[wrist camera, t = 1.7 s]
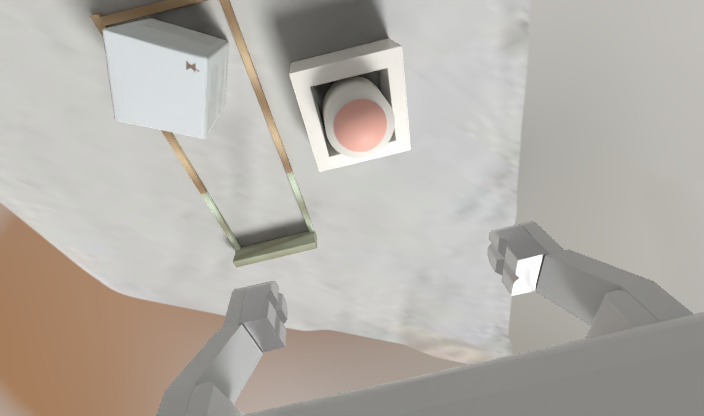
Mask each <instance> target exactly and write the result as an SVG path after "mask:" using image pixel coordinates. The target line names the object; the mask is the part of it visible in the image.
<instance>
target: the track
mask: <svg viewBox="0 0 704 416" xmlns="http://www.w3.org/2000/svg"><path fill="white" fill-rule="evenodd" d="M202 1H206V0H165V1H161V2H157V3H153V4H149V5H145V6H141V7H137V8H133V9H129V10H125V11H121V12H117V13H113V14H109V15H105V16H102V15H101V14H96V15H92V16H91V18H92V20H93V21H94V23H95V25H96V26H97V28H98V29H99V31H100V33H101V34H102V36H103V32H102V30H103V29H104V28H109V27H108V25H111V24H115V23H119V22H123V21H127V20H131V19H135V18H139V17H143V16H147V15H151V14H155V13H159V12H163V11H167V10H171V9H174V8H178V7H182V6H186V5H190V4H194V3H198V2H202ZM220 2H221V4H222V7H223V9H224V12H225V15H226V17H227V20H228V22H229V25H230V27H231V30H232V33H233V35H234V38H235V40H236V43H237V46H238V48H239V51H240V53H241V56H242V59H243V61H244V64H245V66H246V69H247V71H248V74H249V77H250V79H251V82H252V84H253V87H254V90H255V92H256V95H257V97H258V100H259V103H260V105H261V108H262V110H263V113H264V115H265V118H266V121H267V123H268V126H269V128H270V131H271V134H272V136H273V139H274V141H275V144H276V147H277V149H278V152H279V154H280V157H281V159H282V162H283V165H284V167H285V170H286V172H287V175H288V178H289V180H290V183H291V185H292V188H293V191H294V193H295V196H296V198H297V201H298V203H299V206H300V209H301V211H302V214H303V216H304V219H305V222H306V224H307V227H308V229H309V231H308V232H303V233H299V234H295V235H291V236H287V237H282V238H278V239H274V240H270V241H266V242H261V243H257V244H253V245H249V246H245V247H240V245H239V243H238V242H237V240H236V238H235V237H234V235H233V233H232V232H231V230H230V228H229V227H228V225H227V223H226V222H225V220H224V218H223V217H222V215H221V213H220V212H219V210H218V208H217V207H216V205H215V203H214V202H213V200H212V198H211V197H210V195H209V193H208V192H207V190H206V188H205V187H204V185H203V183H202V182H201V180H200V178H199V177H198V175H197V173H196V172H195V170H194V168H193V167H192V165H191V163H190V162H189V160H188V158H187V157H186V155H185V153H184V152H183V150H182V148H181V147H180V145H179V143H178V142H177V140H176V138H175V137H174V135H173V133H172V132H168V131H163V130H161V131H162V132H163V134H164V136H165V137H166V139H167V140H168V142H169V144H170V145H171V147H172V148H173V150H174V152H175V153H176V155H177V157H178V158H179V160H180V161H181V163H182V165H183V166H184V168H185V169H186V171H187V173H188V174H189V176H190V177H191V179H192V181H193V182H194V184H195V185H196V187H197V189H198V190H199V192H200V194H201V195H202V197H203V198H204V200H205V202H206V203H207V205H208V206H209V208H210V210H211V211H212V213H213V214H214V216H215V218H216V219H217V221H218V223H219V224H220V226H221V227H222V229H223V231H224V232H225V234H226V235H227V237H228V239H229V240H230V242H231V243H232V245H233V247H234V248H235V250H236V252H235V256H234V260H233V263H234V264H235V266H236V267H240V266H244V265H248V264H252V263H257V262H261V261H265V260H269V259H274V258H278V257H282V256H286V255H290V254H295V253H299V252H303V251H307V250H311V249H316V248H317V237H316V233H315V230H314V228H313V225H312V222H311V219H310V217H309V214H308V211H307V209H306V206H305V203H304V201H303V198H302V195H301V193H300V190H299V187H298V184H297V182H296V179H295V176H294V174H293V171H292V168H291V166H290V163H289V160H288V157H287V155H286V152H285V149H284V147H283V144H282V141H281V139H280V136H279V133H278V130H277V128H276V125H275V122H274V120H273V117H272V114H271V112H270V109H269V106H268V104H267V101H266V98H265V95H264V93H263V90H262V87H261V85H260V82H259V79H258V77H257V74H256V71H255V68H254V66H253V63H252V60H251V58H250V55H249V52H248V50H247V47H246V44H245V42H244V39H243V36H242V33H241V31H240V28H239V25H238V23H237V20H236V17H235V15H234V12H233V9H232V6H231V4H230V1H229V0H220Z"/></svg>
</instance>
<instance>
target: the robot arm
mask: <svg viewBox="0 0 704 416" xmlns="http://www.w3.org/2000/svg"><path fill="white" fill-rule="evenodd" d="M489 240H490V241H491V245H490V246H489V247H488V258H489V262H490V264H491V266H492V268H493V269H494V271H495V272H497V273H499V274H501V275H502V282H503V284H504V285H505V287H506V288H507V290H508V291H509V292H510V294H511V295H517V294H522V293H527V292H532V291H536V292H537V293H538V294H540V295H541V296H543V297H544V298H546V299H548V300H550V301H551V302H553V303H554V304H556V305H557V306H559V307H561V308H562V309H564V310H566V311H567V312H569V313H571V314H572V315H574V316H575V317H577V318H579V319H580V320H582V321H584V322H585V323H587V324H589V325H590V328H589V330H588V332H587V334H586V337H585V339H581V340H577V341H572V342H568V343H563V344H559V345H554V346H550V347H545V348H541V349H536V350H532V351H528V352H523V353H518V354H514V355H509V356H505V357H500V358H496V359H491V360H487V361H482V362H478V363H473V364H469V365H464V366H460V367H455V368H451V369H447V370H442V371H438V372H433V373H429V374H424V375H420V376H415V377H411V378H407V379H402V380H397V381H393V382H388V383H384V384H380V385H375V386H371V387H367V388H362V389H357V390H353V391H348V392H344V393H339V394H335V395H331V396H326V397H321V398H317V399H312V400H308V401H304V402H299V403H294V404H290V405H285V406H281V407H277V408H272V409H268V410H263V411H259V412H254V413H250V414H245V415H244V414H243V413H242V412H241V411H240V410H239V409H238V408H237V407H236V406H235V405H234V403H235V401H236V399H237V398H238V396H239V394H240V393H241V391H242V389H243V387H244V386H245V384H246V382H247V380H248V379H249V377H250V375H251V373H252V372H253V370H254V368H255V366H256V365H257V363H258V361H259V360H260V358H261V356H262V354H263V352H267V351H270V350H274V349H278V348H282V347H285V343H286V328H285V326H284V325H283V324H284V323H285V322H286V320H287V313H288V312H287V304H286V301H285V298H284V296H283V294H281V293H278V290H279V286H278V285H277V283H276V281H271V282H266V283H261V284H256V285H251V286H248V287H243V288H238V289H235V290H234V291H233V292H232V295H231V298H230V302H229V306H228V310H227V313H226V317H225V321H224V325H223V328H222V329H218V331H217V332H216V333H215V334H214V335H213V336H212V337H211V339H210V340H209V341H208V342H207V344H206V345H205V346H204V347H203V348H202V349H201V350H200V352H199V353H198V354H197V355H196V356H195V357H194V359H192V361H191V362H190V363H189V364H188V365H187V366H186V368H185V369H184V370H183V371H182V372H181V373H180V375H179V376H178V377H177V378H176V379H175V380H174V381H173V383H172V384H171V385H170V386H169V387H168V388H167V389H166V391H165V393H164V396H163V399H162V401H161V404H160V407H159V409H158V413H157V415H156V416H704V312H702V313H698V314H693V313H692V312H690V311H689V310H688V309H687V308H685V307H684V306H683V305H682V304H681V303H679V302H678V301H677V300H676V299H675V298H673V297H672V296H671V295H669V294H668V293H667V292H666V291H665V290H663V289H662V288H661V287H660V286H659V285H657V284H656V283H655V282H654V281H651V280H649V279H646V278H643V277H641V276H638V275H635V274H633V273H630V272H627V271H625V270H622V269H619V268H616V267H614V266H611V265H609V264H606V263H603V262H601V261H598V260H595V259H593V258H590V257H587V256H585V255H582V254H579V253H576V252H574V251H571V250H563V248H562V247H561V246H560V245H559V244H557V243H556V242H555V241H554V240H553V239H552V238H551V237H550V236H549V235H548V234H547V233H546V232H545V231H544V230H543V229H542V228H541V227H540V226H539V225H538V224H537V223H535V222H533V221H530V222H526V223H522V224H518V225H513V226H509V227H505V228H501V229H496V230H492V231H491V232H490V234H489Z"/></svg>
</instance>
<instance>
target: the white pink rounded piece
mask: <svg viewBox="0 0 704 416" xmlns="http://www.w3.org/2000/svg"><path fill="white" fill-rule="evenodd" d="M323 116H324V123H325V130H326V135H327V138H328V140H329V142H330V144H331V145H332V147H333V148H334V149H335V150H336V151H338V152H339V153H341V154H342V155H345V156H347V157H351V158H365V157H369V156H372V155H374V154H376V153H377V152H379V151H380V150H382V149H383V148H384V147H385V146H386V145H387V143H388V142H389V140H390V139H391V137H392V134H393V131H394V127H395V117H394V113H393V110H392V108H391V106H390V104H389V103H388V101H387V100H386V99H385V97H384V96H383V95H382V93H381V92H380V90H379V89H378V88H377V86H376V85H375V84H374V83H373V82H371V81H370V80H368V79H366V78H364V77H360V76H352V77H348V78H344V79H340V80H338V81H336V82H335V83H334V84H333V85H332V86H331V87H330V88H329V89H328V91H327V93H326V95H325V97H324V100H323Z"/></svg>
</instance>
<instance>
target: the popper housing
mask: <svg viewBox="0 0 704 416" xmlns="http://www.w3.org/2000/svg"><path fill="white" fill-rule="evenodd" d="M377 70H379V78H380V85H381V93H382V95H383V96H384V97H385V99H386V100H387V101H388V103H389V104H390V106H391V108H392V110H393V113H394V117H395V127H394V131H393V134H392V137H391V139H390V140H389V142H388V143H387V145H386V146H385V147H384V148H383V149H382V150H380V151H379V152H377V153H376V154H374V155H372V156H369V157H365V158H351V157H347V156H345V155H342V154H341V153H339V152H338V151H336V150H335V149H334V148H333V147H332V145H331V144H330V142H329V140H328V138H326V134H325V131H324V127H323V123H322V120H321V116H320V112H319V109H318V105H317V101H316V97H315V94H314V90H313V86H316V85H320V84H324V83H328V82H332V81H336V80H340V79H344V78H348V77H352V76H357V75H361V74H365V73H369V72H373V71H377ZM289 75H290V79H291V82H292V85H293V88H294V92H295V95H296V98H297V101H298V105H299V108H300V111H301V114H302V118H303V121H304V124H305V127H306V131H307V134H308V137H309V140H310V144H311V147H312V150H313V153H314V157H315V160H316V163H317V166H318V170H319V172H322V171H326V170H330V169H334V168H338V167H342V166H346V165H351V164H355V163H359V162H363V161H367V160H371V159H375V158H380V157H384V156H388V155H392V154H396V153H400V152H404V151H408V150H411V145H410V133H409V122H408V110H407V99H406V87H405V76H404V64H403V53H402V46H401V45H399V44H398V43H396V42H394V41H393V40H391V39H389V38H388V39H384V40H380V41H376V42H372V43H368V44H364V45H360V46H355V47H351V48H347V49H343V50H339V51H335V52H331V53H327V54H323V55H319V56H315V57H311V58H307V59H303V60H299V61H295V62H291V66H290V71H289Z"/></svg>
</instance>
